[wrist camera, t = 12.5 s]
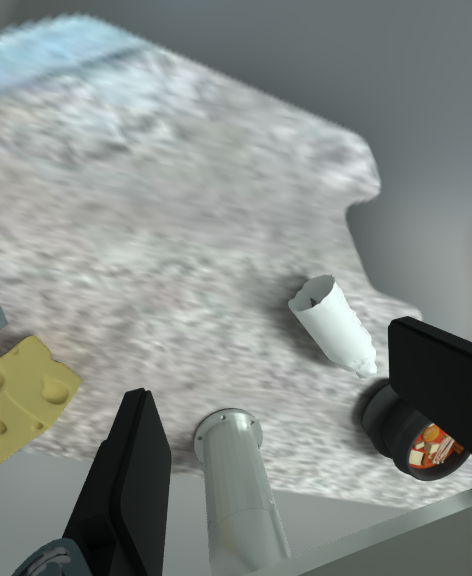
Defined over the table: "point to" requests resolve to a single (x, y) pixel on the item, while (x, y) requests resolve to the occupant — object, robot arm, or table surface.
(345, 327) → the white hollow cylinder
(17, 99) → the table surface
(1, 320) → the pedestal
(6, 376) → the cheese
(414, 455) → the casserole
